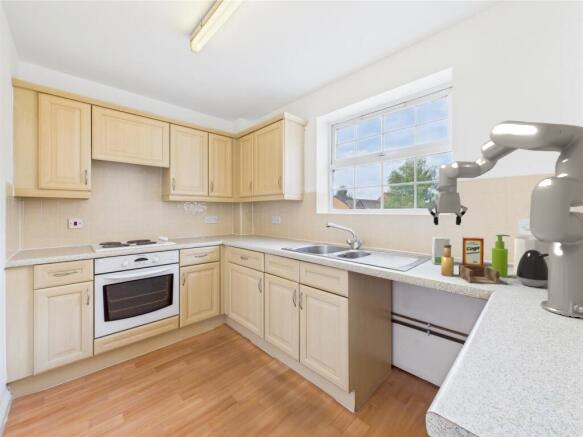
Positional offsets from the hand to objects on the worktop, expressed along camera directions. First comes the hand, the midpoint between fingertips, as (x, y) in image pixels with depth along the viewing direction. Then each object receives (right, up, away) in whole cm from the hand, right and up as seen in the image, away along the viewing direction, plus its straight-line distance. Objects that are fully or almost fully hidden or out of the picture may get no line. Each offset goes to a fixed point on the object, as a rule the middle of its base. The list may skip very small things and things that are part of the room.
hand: (447, 224), depth 126 cm
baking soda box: (+28, -24, +22) cm, 43 cm away
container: (+42, -25, 0) cm, 49 cm away
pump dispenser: (+25, -25, -18) cm, 40 cm away
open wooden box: (+9, -25, -9) cm, 28 cm away
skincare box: (+12, -24, +27) cm, 38 cm away
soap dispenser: (+24, -25, -2) cm, 35 cm away
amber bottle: (0, -25, +1) cm, 25 cm away
